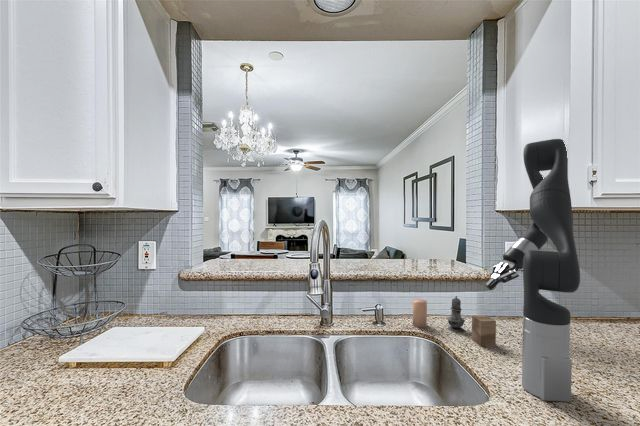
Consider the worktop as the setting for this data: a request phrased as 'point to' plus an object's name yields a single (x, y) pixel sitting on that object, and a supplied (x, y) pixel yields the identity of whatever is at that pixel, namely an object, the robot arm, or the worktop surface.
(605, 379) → the worktop surface
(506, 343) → the worktop surface
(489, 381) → the worktop surface
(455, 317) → the dark grey turned piece
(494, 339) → the walnut block
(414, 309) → the terracotta canister
